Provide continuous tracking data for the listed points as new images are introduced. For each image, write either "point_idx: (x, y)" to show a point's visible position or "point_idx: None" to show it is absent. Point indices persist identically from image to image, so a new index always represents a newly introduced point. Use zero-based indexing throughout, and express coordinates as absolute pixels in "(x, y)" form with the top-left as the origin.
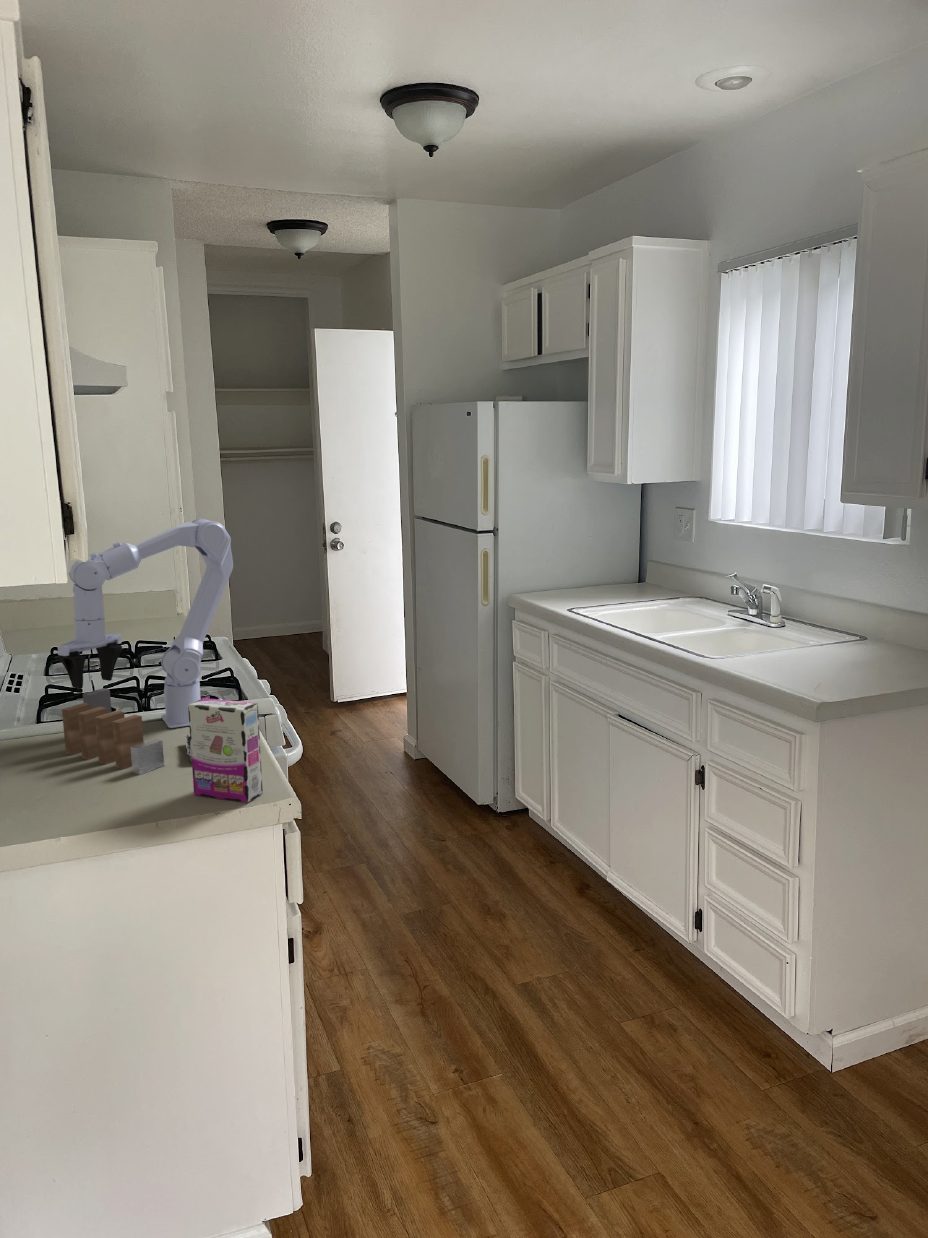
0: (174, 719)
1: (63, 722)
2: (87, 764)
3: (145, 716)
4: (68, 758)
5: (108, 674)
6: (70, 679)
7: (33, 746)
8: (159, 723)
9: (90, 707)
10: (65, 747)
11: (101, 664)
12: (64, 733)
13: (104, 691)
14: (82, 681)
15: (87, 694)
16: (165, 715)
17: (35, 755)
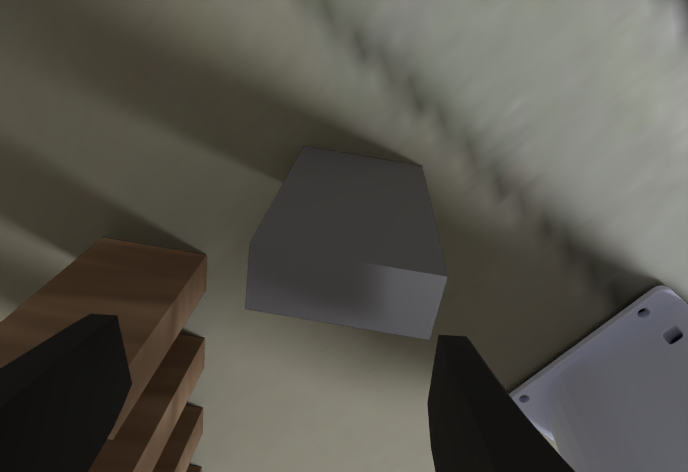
0: (550, 418)
1: (8, 319)
2: None
3: (671, 197)
4: None
5: (437, 443)
6: (24, 359)
7: (65, 20)
8: (569, 321)
9: (118, 424)
10: (88, 249)
11: (476, 457)
12: (49, 284)
13: (381, 330)
14: (95, 445)
15: (252, 289)
16: (659, 310)
17: (10, 138)
